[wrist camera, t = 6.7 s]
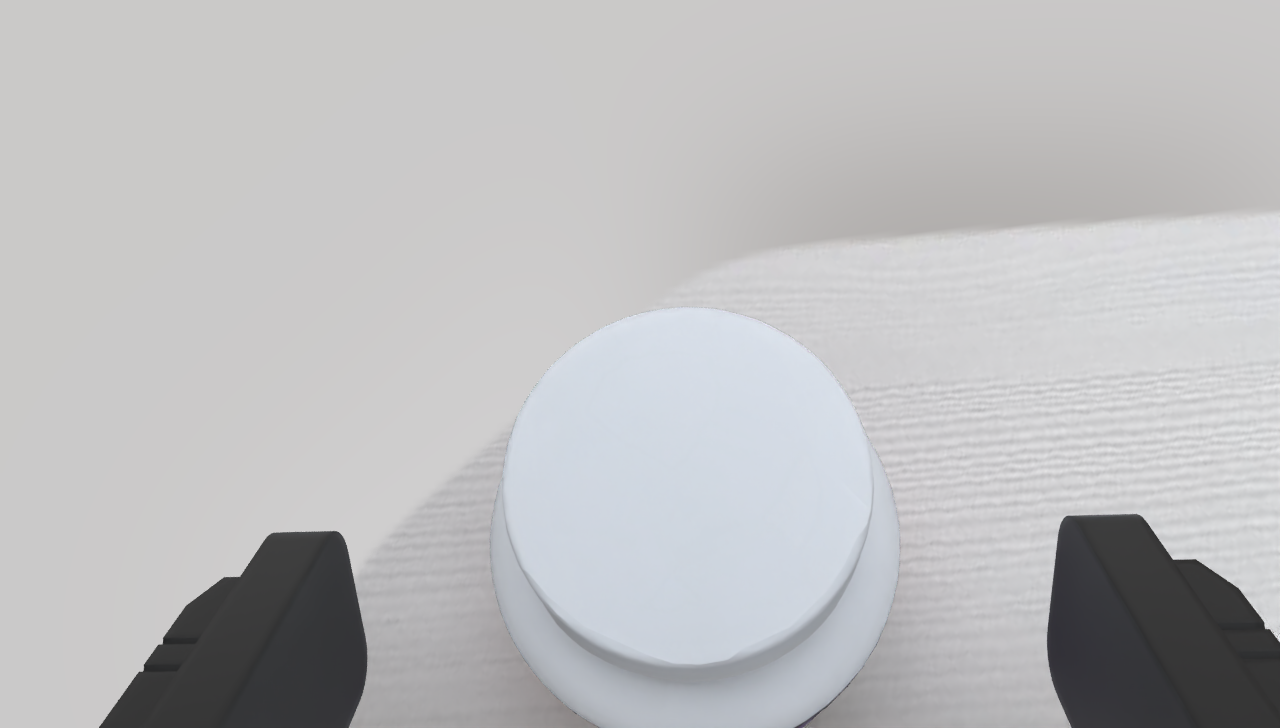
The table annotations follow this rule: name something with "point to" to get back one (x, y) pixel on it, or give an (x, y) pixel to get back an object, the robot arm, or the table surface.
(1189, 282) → the table surface
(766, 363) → the pill bottle
